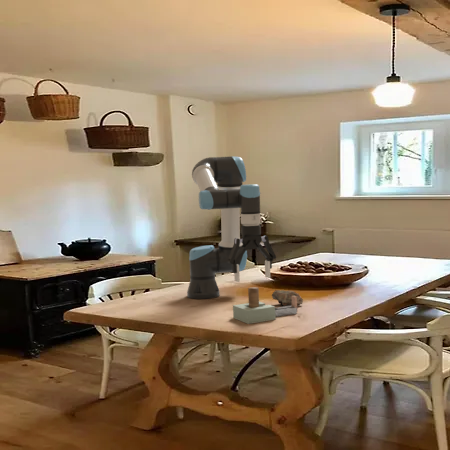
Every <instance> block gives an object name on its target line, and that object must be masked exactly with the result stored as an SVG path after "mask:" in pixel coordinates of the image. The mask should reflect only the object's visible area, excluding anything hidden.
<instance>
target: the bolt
mask: <svg viewBox="0 0 450 450" xmlns="http://www.w3.org/2000/svg"><path fill="white" fill-rule="evenodd" d="M291 299H292V306H285V307H284V306H279V307H278V306H277V307H275V310H281V309H287V308H294V307H296V308H297V309H298V306H297V297H296V296H291Z"/></svg>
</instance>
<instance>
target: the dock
mask: <svg viewBox="0 0 450 450" xmlns="http://www.w3.org/2000/svg"><path fill="white" fill-rule="evenodd" d="M275 308H276V306H274V305H271V304H266V303H265V302H262V301H259V307H256V308H249V302H248V303H240V304H233V305H232V311H233V312H232V314H233V315H232V316H233V319H235V320H238V321H240V322H243V323H245V324H247V325H250V324H254V323H255V324H256V323H262V322H268V321H274V320H275V321H276V317H275Z"/></svg>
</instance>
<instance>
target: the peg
mask: <svg viewBox="0 0 450 450" xmlns="http://www.w3.org/2000/svg"><path fill="white" fill-rule="evenodd" d="M247 289H248V290H247V291H248V295H247V297H248V303H249V308H256V307H259V302H260V297H259V296H260V294H259V287H258V286H257V287H255V286H253V287H251V286H250V287H248V288H247Z"/></svg>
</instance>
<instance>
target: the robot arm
mask: <svg viewBox="0 0 450 450" xmlns="http://www.w3.org/2000/svg"><path fill="white" fill-rule="evenodd" d="M245 165H246V164H245V162H244V160H243V158H242V157H240V156H234V155H233V156H230V155H229V156H216V157H215V156H213V157H212V156H210V157H206V158H202V159H201V160H199V161H198V162H197V163H196V164H195V165H194V166H193V169H192V170H191V178H192V180H193V182H194V183H195V184H196V185H197V187H198V189H199V192H198V206H199V208H200V209H201V210H220V217H221V219H220V220H221V223H220V224H221V226H220V227H221V228H220V229H221V230H220V231H221V240H220V242H219V243H218V247H217V248H215V246H214V245H212V244H211V245H200V246H196V247H193V248H191V249H190V250H189V257H188V260H189V277H190V279H189V284H188V287H187V291H186V294H187V295H186V296H187V297H186V298H189V299H194V300H195V299H196V300H207V299H214V298H218V297H219V296H220V288H219V286H218V283H217V281H216V274H223V273H233V274H234V275H233V276H234V281H235V282H236V283H240V279H241V278H240V272H243V271H244V270H245V269H246V266H247V261H248V259H247V258H248V250H253V249H254V250H255V249H257V250H258V251H259V252H260V253H261V255H262V256H263V257H264V258H265V260H264V275H265V276H264V277H265V278H268V279H271V269H272V268H273V263H272V262H273V261H274V259H275V260H276V259H277V256H276V254H275V251H274V248H273V247H272V245H271V243H270V242H269V240H270V239H269V235H263V236H261V234H262V226H261V225H260V224H261V222H262V221H261V191H260V185H259V184H256V183H255V184H254V183H252V184H249V183H248V184H243V183H246V181H247V171H246V170H247V169H246V166H245ZM240 224H241V225H240ZM240 229H241V231H240ZM261 242H263V245H264V247H263V245H262V244H261Z"/></svg>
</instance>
